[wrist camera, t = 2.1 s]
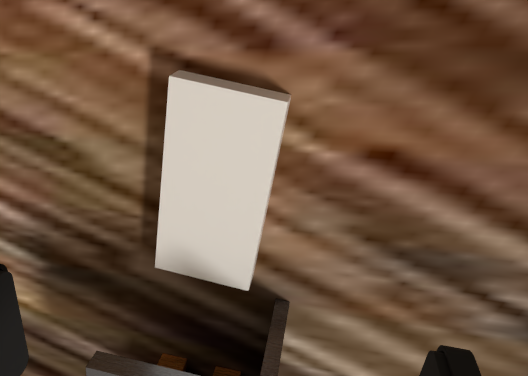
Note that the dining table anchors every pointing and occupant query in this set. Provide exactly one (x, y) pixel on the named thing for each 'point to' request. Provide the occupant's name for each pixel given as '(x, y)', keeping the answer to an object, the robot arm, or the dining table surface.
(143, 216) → the dining table surface
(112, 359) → the grey storage bin
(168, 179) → the white rectangular block
